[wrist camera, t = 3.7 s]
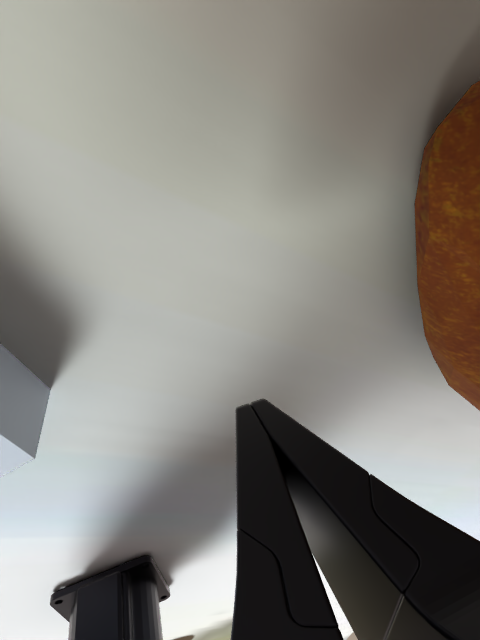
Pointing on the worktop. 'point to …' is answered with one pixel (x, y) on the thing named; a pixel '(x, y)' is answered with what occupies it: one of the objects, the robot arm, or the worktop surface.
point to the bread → (452, 245)
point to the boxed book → (19, 412)
